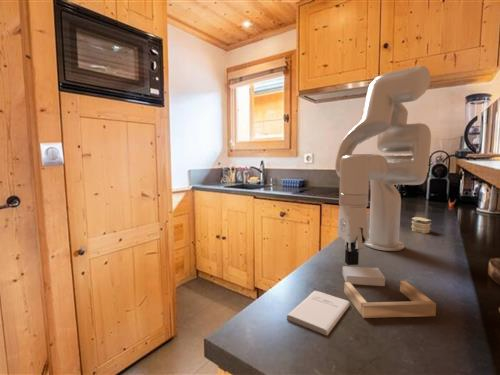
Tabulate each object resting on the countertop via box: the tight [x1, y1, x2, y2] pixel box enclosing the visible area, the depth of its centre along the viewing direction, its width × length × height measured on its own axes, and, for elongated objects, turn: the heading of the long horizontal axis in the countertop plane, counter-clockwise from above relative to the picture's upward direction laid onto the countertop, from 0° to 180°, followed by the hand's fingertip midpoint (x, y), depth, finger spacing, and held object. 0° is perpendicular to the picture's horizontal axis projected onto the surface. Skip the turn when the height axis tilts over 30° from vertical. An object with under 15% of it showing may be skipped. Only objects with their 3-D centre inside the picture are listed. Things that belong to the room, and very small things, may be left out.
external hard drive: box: [286, 290, 351, 336], centre depth 56 cm, size 2×8×12 cm
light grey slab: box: [341, 265, 386, 287], centre depth 70 cm, size 6×9×2 cm, turn 80°
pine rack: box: [343, 280, 437, 319], centre depth 58 cm, size 10×14×2 cm
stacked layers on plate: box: [410, 216, 432, 234], centre depth 114 cm, size 10×9×6 cm
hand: (351, 263), depth 77 cm, fingers closed
